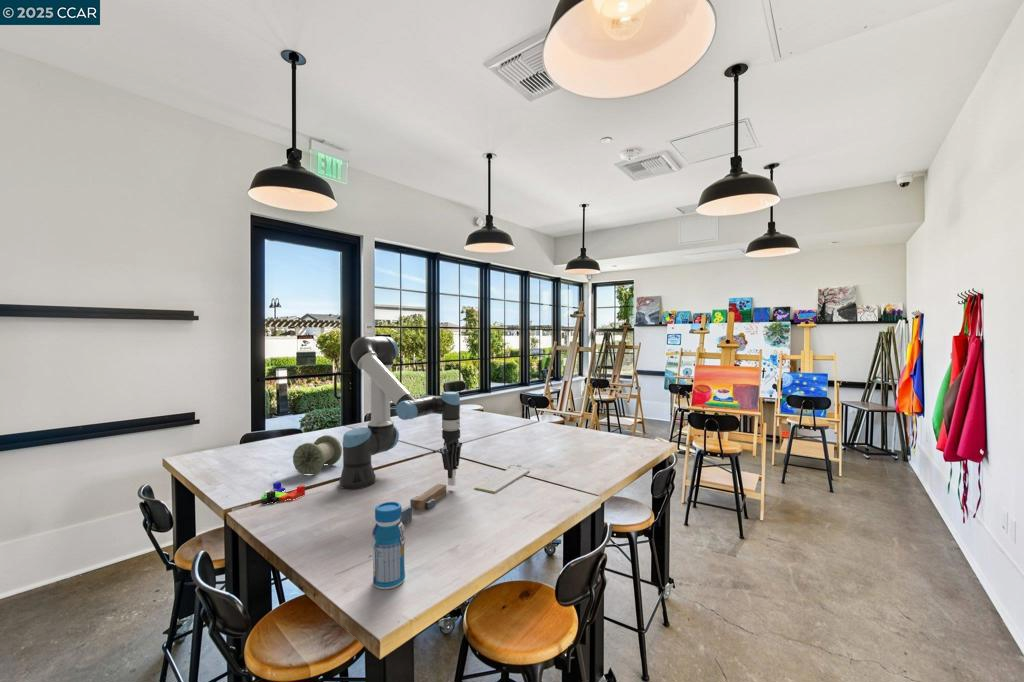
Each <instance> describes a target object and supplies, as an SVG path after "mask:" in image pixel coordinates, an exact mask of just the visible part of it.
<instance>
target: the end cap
mask: <svg viewBox="0 0 1024 682" xmlns="http://www.w3.org/2000/svg"><path fill="white" fill-rule="evenodd" d="M400 520H401V522H402V523H403V525H405V524H407V523H409V522H410V521H412V520H413V506H410V505H407V506H406V507H404V508H402V515H401V518H400Z"/></svg>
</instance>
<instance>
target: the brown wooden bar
mask: <svg viewBox="0 0 1024 682" xmlns="http://www.w3.org/2000/svg"><path fill="white" fill-rule="evenodd" d="M445 495H447V484H443V483H437V484H435V485H433V486H432V487H430V488H429V489H427V490H426V491H424V492H423V493H421V494H420V495H417V496H418V497H416V496H415V497H416V498H415V499H413V506H412V511H420V512H423V511H424V510H426V509H425V502H427V501H429V500H430V499H435V503H436V502H437V501H438V500H440V499H441V498H443V497H444V496H445Z"/></svg>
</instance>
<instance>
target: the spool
mask: <svg viewBox="0 0 1024 682" xmlns="http://www.w3.org/2000/svg"><path fill="white" fill-rule="evenodd" d="M342 455H343V446H342V445H341V442H340V441H339V440H338V439H337V438H336V437H335V436H333V435H328V434H327V435H326V434H325V435H323V436H320V437H317V439H316V440H315V441H314V443H313V442H305V443H303V444H300V445H299V446H297V447H296V448H295V449H294V452H293V454H292V463H293V465H294V469H296V471H297V472H298V473H299V474H301V475H303V474H314V475H316V474H319V473H320V472H321V470H322V469H323V467H324V466H323V465H324V464H328V465H330V466H333V465H335V464H337V462H338V461H339V460H340V459H341V456H342Z"/></svg>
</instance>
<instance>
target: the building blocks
mask: <svg viewBox="0 0 1024 682" xmlns="http://www.w3.org/2000/svg"><path fill="white" fill-rule="evenodd" d="M284 490H285V491H286V487H283V486H282V482H281V481H275V482H273V483H272V488H271V489H267V490H266V491H264V492H263V497H262V499H261V505H262V504H267V503H270V502H273V503H272V504H274V503H275V502H277V501H285V500H287V499H291V500H293V499H295V500H297V499H296V498H298V497H300V496H302V497H304V496H305V495H306V485H301V484H300V485H298V486H296V489H295V490H293V491H291V492H284V493H283V492H282V491H284ZM303 495H304V496H303ZM300 498H301V497H300ZM298 499H299V498H298ZM293 501H294V500H293ZM285 502H286V501H285ZM277 503H278V502H277ZM270 504H271V503H270ZM275 504H276V503H275ZM267 505H268V504H267Z"/></svg>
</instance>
